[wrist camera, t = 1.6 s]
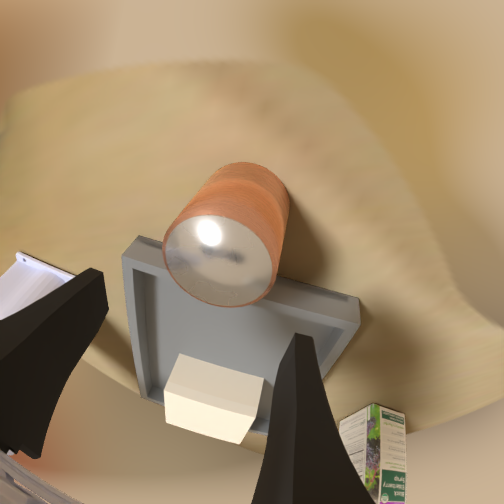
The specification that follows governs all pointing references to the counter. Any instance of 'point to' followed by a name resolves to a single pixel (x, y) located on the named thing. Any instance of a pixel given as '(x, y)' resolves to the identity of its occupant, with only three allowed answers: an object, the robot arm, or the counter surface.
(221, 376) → the plain cream box
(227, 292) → the tin can
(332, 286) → the counter surface
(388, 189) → the counter surface
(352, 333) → the tray
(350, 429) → the syrup box
